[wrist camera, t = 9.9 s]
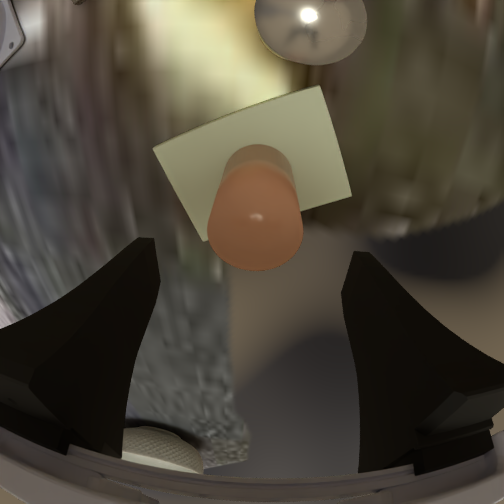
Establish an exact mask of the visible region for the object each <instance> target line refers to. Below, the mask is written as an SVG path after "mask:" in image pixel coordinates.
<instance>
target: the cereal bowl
mask: <svg viewBox="0 0 504 504" xmlns="http://www.w3.org/2000/svg"><path fill="white" fill-rule="evenodd" d="M121 459H122V460H126V461H130V462H135V463H139V464H144V465H149V466H154V467H159V468H164V469H170V470H176V471H182V472H189V473H197V474H203V461H202V458H201V456H200V454H199V452H198V451H197V450H196V449H195V448H194V447H193V446H191V445H190V444H188V443H187V442H185V441H183V440H181V438H180V437H179V436H178V435H176V434H174V433H172V432H170V431H167V430H164V429H161V428H156V427H151V426H141V427H138V428H124V433H123V447H122V458H121Z"/></svg>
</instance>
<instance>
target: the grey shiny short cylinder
mask: <svg viewBox="0 0 504 504" xmlns="http://www.w3.org/2000/svg"><path fill="white" fill-rule="evenodd" d="M254 11H255V21H256V25H257V29H258V33H259V36H260V39H261V41H262V43H263V44H264V45H265V47H266V48H267V49H268V50H269V51H270V52H272V53H273V54H274V55H276V56H278V57H280V58H282V59H285V60H289V61H293V62H298V63H302V64H308V65H325V64H331V63H334V62H337V61H340V60H342V59H344V58H345V57H347V56H349V55H350V54H351V53H352V52H354V51H355V50H356V48H357V47H358V46H359V45H360V43H361V42H362V40H363V38H364V35H365V32H366V28H367V14H366V9H365V6H364V4H363V1H362V0H256V3H255V10H254Z"/></svg>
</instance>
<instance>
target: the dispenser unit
mask: <svg viewBox="0 0 504 504" xmlns="http://www.w3.org/2000/svg"><path fill="white" fill-rule="evenodd" d="M72 1H73V4H75V5H80V4H81V3H82V2H84V1H85V0H72Z"/></svg>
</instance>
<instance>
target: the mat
mask: <svg viewBox="0 0 504 504" xmlns="http://www.w3.org/2000/svg"><path fill="white" fill-rule="evenodd" d="M254 144H262V145H267V146H271V147H273V148H275V149H277V150H279V151H280V152H281V153H283V155H284V156H285V157H286V158H287V159H288V161H289V163H290V165H291V167H292V172H293V177H294V182H295V187H296V192H297V197H298V202H299V208H300V211H303V210H307V209H310V208H313V207H317V206H320V205H323V204H327V203H330V202H334V201H337V200H340V199H344V198H347V197H351V196H352V194H351V190H350V186H349V182H348V178H347V174H346V171H345V167H344V163H343V159H342V156H341V152H340V149H339V145H338V142H337V138H336V135H335V132H334V128H333V125H332V122H331V119H330V115H329V112H328V109H327V106H326V103H325V100H324V97H323V94H322V91H321V88H320V86H319V85H315V86H311V87H308V88H304V89H301V90H297V91H294V92H291V93H288V94H285V95H281V96H278V97H275V98H272V99H269V100H266V101H263V102H261V103H258V104H255V105H252V106H249V107H246V108H244V109H241V110H238V111H236V112H233V113H230V114H228V115H225V116H223V117H220V118H218V119H215V120H213V121H210V122H208V123H205V124H203V125H201V126H198V127H196V128H194V129H191V130H189V131H187V132H184V133H182V134H180V135H178V136H175V137H173V138H171V139H169V140H167V141H165V142H162V143H160V144H158V145H156V146H155V147H154V148H153V151H154V152H155V154H156V156H157V158H158V160H159V162H160V164H161V166H162V168H163V170H164V171H165V173H166V175H167V177H168V179H169V181H170V183H171V184H172V186H173V188H174V190H175V192H176V194H177V196H178V197H179V199H180V201H181V203H182V205H183V207H184V208H185V210H186V212H187V214H188V216H189V217H190V219H191V221H192V223H193V225H194V227H195V228H196V230H197V232H198V234H199V235H200V237H201V239H202V241H203V242H204V241H207V240H208V236H207V224H208V220H209V217H210V213H211V210H212V207H213V203H214V200H215V197H216V194H217V190H218V187H219V184H220V181H221V178H222V175H223V171H224V168H225V165H226V163H227V161H228V159H229V158H230V157H231V156H232V154H234V153H235V152H236V151H237V150H239V149H241V148H243V147H245V146H248V145H254Z"/></svg>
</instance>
